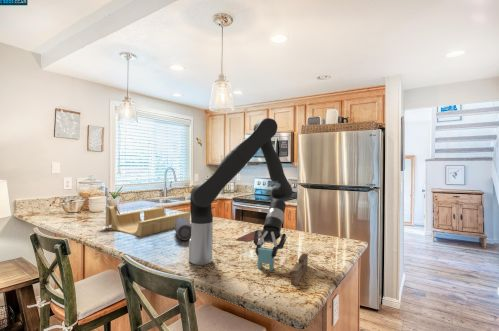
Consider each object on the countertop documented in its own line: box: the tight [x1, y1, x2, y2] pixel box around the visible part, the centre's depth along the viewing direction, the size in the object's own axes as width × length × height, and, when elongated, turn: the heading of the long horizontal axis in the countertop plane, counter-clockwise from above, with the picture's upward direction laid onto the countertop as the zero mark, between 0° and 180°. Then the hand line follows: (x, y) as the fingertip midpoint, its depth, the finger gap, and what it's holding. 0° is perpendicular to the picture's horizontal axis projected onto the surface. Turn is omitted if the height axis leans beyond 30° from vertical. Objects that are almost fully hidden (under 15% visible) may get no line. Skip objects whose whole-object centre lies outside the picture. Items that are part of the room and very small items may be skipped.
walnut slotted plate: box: [290, 252, 309, 286], centre depth 102 cm, size 2×20×5 cm, turn 158°
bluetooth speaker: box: [174, 217, 191, 241], centre depth 153 cm, size 23×9×10 cm, turn 19°
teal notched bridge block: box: [257, 246, 275, 272], centre depth 108 cm, size 6×2×8 cm, turn 67°
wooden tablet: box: [235, 229, 263, 243], centre depth 157 cm, size 27×10×2 cm, turn 147°
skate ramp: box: [105, 203, 191, 237], centre depth 179 cm, size 40×35×16 cm
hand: (265, 255), depth 107 cm, fingers closed on teal notched bridge block, 6 cm apart
